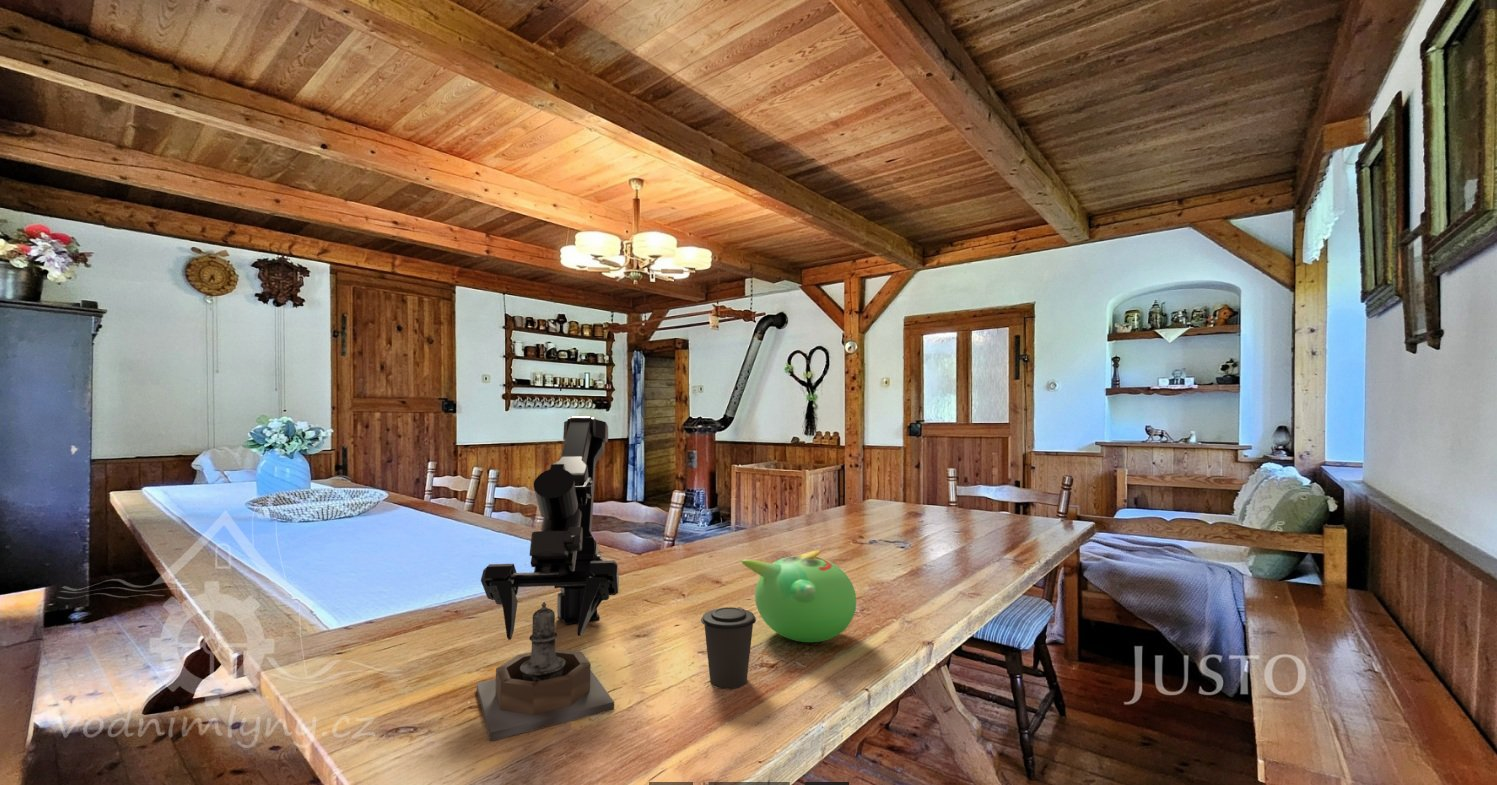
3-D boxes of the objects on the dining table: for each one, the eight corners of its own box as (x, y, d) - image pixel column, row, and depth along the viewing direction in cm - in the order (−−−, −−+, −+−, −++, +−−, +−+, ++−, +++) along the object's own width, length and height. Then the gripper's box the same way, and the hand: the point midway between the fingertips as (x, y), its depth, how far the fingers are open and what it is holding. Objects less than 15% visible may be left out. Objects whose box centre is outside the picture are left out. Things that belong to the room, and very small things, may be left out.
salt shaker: (566, 697, 78) (567, 606, 79) (518, 704, 77) (520, 611, 77) (564, 679, 84) (565, 593, 84) (520, 685, 82) (521, 597, 83)
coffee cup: (763, 673, 88) (763, 605, 89) (745, 697, 81) (745, 623, 81) (713, 665, 91) (713, 600, 92) (691, 688, 83) (691, 616, 84)
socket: (584, 667, 90) (584, 637, 90) (614, 709, 77) (614, 674, 78) (476, 690, 83) (477, 657, 83) (490, 741, 70) (491, 702, 70)
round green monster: (873, 638, 102) (873, 553, 103) (815, 668, 90) (815, 571, 91) (792, 614, 115) (792, 538, 115) (731, 638, 102) (732, 552, 103)
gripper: (485, 508, 85) (458, 611, 74) (618, 505, 88) (611, 605, 76) (500, 550, 92) (476, 650, 81) (621, 547, 95) (615, 643, 84)
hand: (544, 636), depth 80 cm, fingers open, 9 cm apart
